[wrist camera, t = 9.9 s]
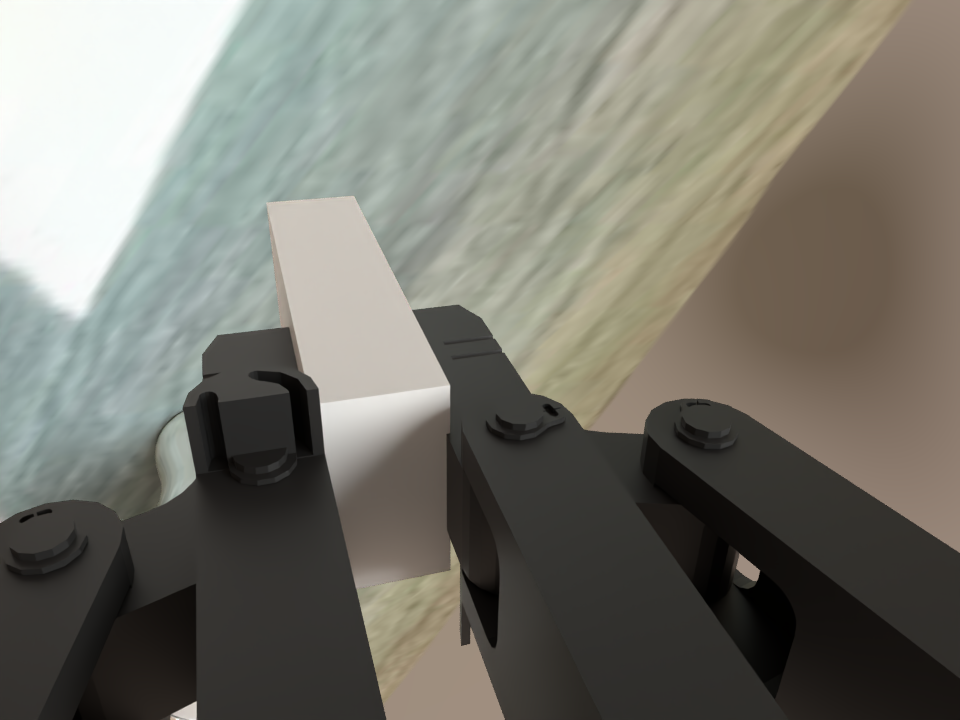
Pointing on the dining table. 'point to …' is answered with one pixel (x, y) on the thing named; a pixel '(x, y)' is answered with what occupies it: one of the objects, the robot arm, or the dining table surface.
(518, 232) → the dining table surface
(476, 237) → the dining table surface
